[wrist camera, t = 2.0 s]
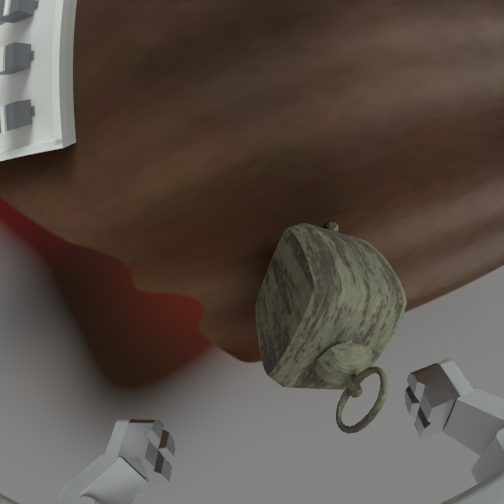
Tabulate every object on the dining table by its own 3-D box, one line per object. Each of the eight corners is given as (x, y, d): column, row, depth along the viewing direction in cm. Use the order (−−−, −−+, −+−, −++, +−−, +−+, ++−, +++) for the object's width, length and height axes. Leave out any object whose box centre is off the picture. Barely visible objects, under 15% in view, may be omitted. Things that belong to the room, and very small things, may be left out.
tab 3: (11, 105, 24) (-9, 109, 21) (30, 99, 24) (11, 102, 21) (13, 129, 26) (-7, 135, 22) (32, 123, 26) (13, 129, 22)
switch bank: (-30, 16, 16) (-45, 15, 13) (82, -36, 18) (70, -44, 15) (-30, 166, 28) (-44, 173, 25) (76, 142, 30) (63, 148, 27)
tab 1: (16, 3, 17) (-2, -2, 14) (36, -6, 18) (19, -13, 14) (13, 23, 19) (-5, 20, 15) (33, 14, 19) (15, 10, 16)
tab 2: (11, 51, 21) (-8, 51, 17) (31, 44, 21) (12, 41, 17) (10, 74, 22) (-9, 75, 19) (30, 67, 22) (11, 67, 19)
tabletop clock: (305, 303, 45) (360, 458, 23) (247, 292, 43) (273, 464, 21) (347, 215, 38) (462, 358, 17) (283, 195, 36) (369, 356, 15)
